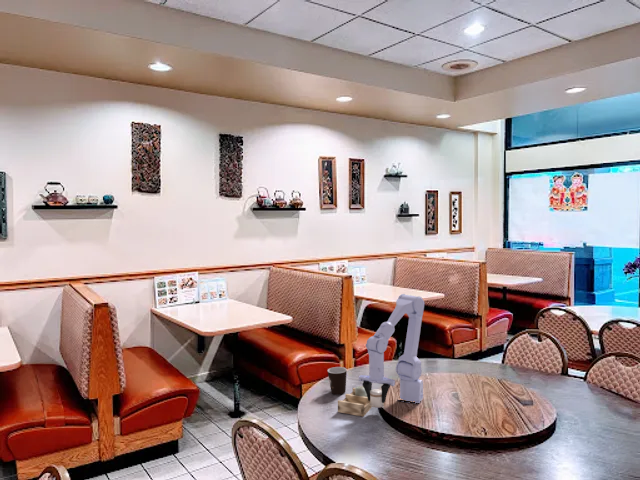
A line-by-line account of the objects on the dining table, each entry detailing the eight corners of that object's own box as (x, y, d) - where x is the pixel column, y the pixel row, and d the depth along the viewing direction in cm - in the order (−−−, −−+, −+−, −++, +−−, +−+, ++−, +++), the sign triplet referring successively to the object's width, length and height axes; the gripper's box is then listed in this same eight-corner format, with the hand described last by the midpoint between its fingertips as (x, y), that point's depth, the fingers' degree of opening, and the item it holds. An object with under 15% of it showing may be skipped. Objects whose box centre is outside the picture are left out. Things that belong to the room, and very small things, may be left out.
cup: (385, 403, 197) (385, 390, 196) (380, 408, 192) (380, 394, 192) (372, 401, 199) (372, 388, 199) (368, 406, 194) (368, 392, 194)
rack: (377, 401, 209) (377, 386, 209) (363, 416, 194) (363, 400, 193) (353, 397, 214) (353, 383, 213) (337, 412, 198) (337, 396, 198)
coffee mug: (346, 395, 216) (345, 373, 215) (327, 395, 217) (325, 373, 217) (350, 386, 227) (349, 364, 226) (331, 385, 229) (330, 364, 228)
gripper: (355, 367, 194) (355, 401, 195) (391, 372, 188) (391, 407, 189) (362, 362, 201) (362, 395, 201) (396, 367, 194) (396, 401, 195)
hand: (376, 400), depth 195 cm, fingers closed on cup, 5 cm apart
